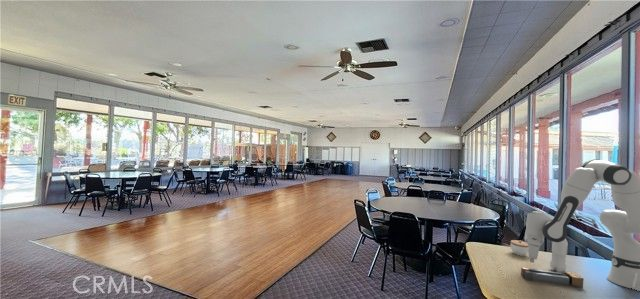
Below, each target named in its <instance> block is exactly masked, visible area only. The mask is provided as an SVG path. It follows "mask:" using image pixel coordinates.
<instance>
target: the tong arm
mask: <svg viewBox="0 0 640 299" xmlns="http://www.w3.org/2000/svg"><path fill="white" fill-rule="evenodd" d="M520 270H521V271H520V275H521V276H522V277H523V278H524V271H531V272H537V273H545V274H552V275H560V276H567V274H566V273H564V272H557V271H553V270H552V271H550V270H544V269H536V268H535V269H534V268H528V267H524V266H523V267H522V266H521V269H520Z"/></svg>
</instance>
